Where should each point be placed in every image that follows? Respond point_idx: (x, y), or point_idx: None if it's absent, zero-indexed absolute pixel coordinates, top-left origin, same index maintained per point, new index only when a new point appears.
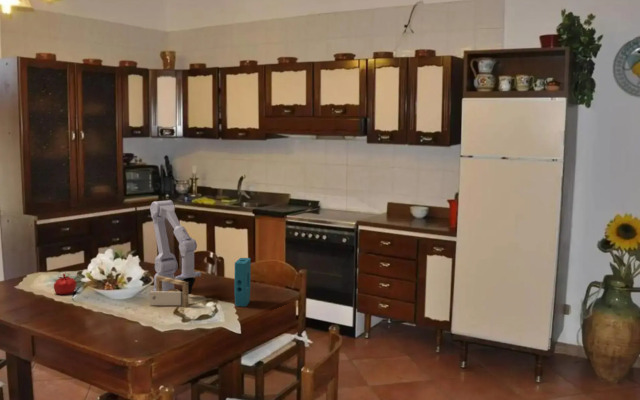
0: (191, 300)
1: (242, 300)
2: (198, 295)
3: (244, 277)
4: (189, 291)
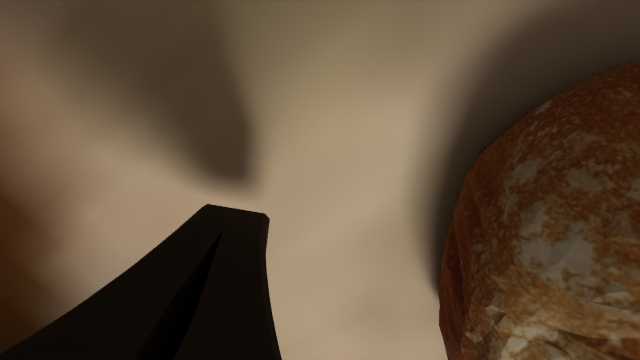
0: (379, 20)
1: None
2: (17, 125)
3: None
4: (237, 240)
